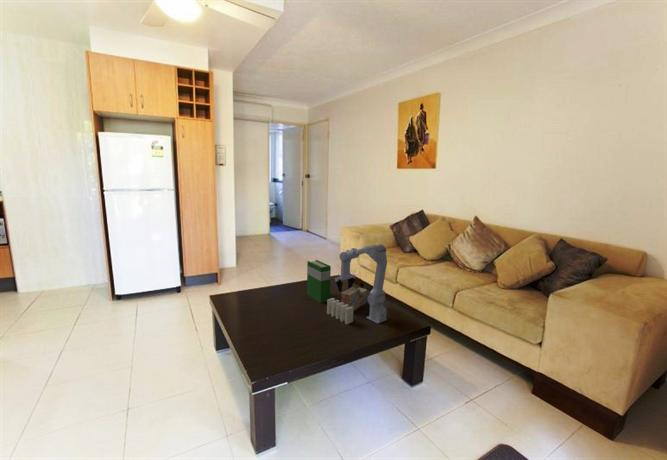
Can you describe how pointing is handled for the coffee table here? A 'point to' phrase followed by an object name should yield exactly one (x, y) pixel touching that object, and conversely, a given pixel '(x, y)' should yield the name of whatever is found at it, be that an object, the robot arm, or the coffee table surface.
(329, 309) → the domino
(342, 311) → the domino
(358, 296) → the stack of blocks
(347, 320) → the domino
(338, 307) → the domino
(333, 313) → the domino
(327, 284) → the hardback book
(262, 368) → the coffee table surface
